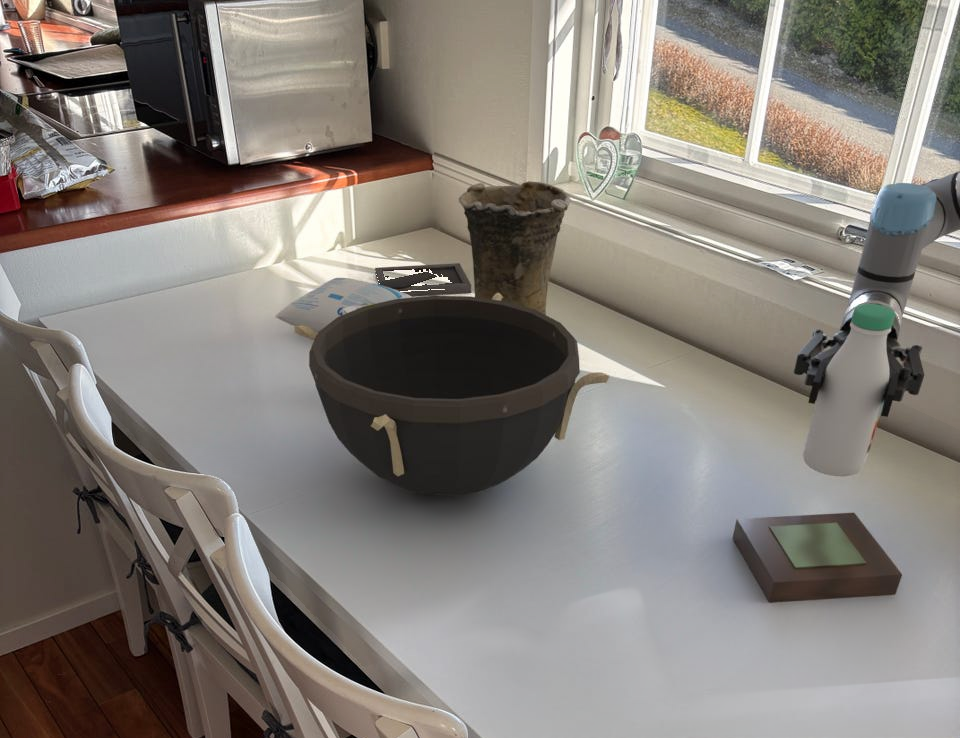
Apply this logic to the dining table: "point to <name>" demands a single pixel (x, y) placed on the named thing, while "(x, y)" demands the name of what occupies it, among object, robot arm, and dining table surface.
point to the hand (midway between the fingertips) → (850, 399)
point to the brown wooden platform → (815, 557)
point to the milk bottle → (851, 396)
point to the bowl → (446, 388)
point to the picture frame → (447, 270)
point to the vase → (514, 239)
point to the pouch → (334, 302)
